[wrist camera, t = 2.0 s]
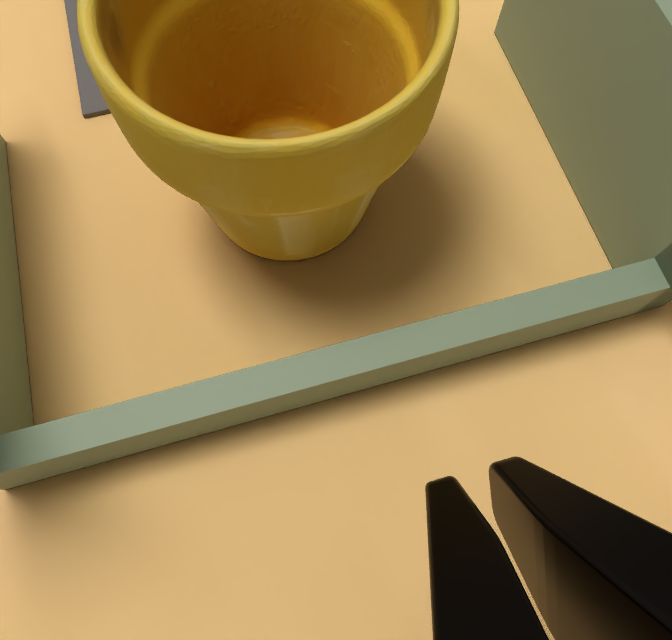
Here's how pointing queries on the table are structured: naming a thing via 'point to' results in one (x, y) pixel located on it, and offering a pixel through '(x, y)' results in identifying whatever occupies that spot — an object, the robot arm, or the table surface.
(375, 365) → the grey-green open frame
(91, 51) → the plant pot
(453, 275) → the table surface
